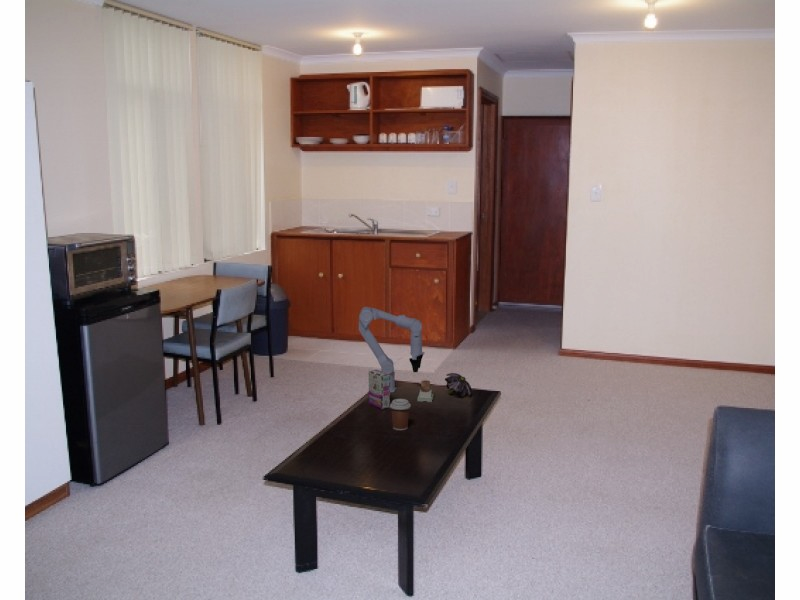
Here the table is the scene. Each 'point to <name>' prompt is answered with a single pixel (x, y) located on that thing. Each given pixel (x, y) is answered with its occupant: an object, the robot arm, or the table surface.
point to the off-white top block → (426, 394)
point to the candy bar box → (379, 389)
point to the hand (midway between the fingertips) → (416, 370)
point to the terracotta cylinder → (425, 386)
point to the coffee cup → (400, 413)
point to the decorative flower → (458, 384)
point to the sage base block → (425, 398)
